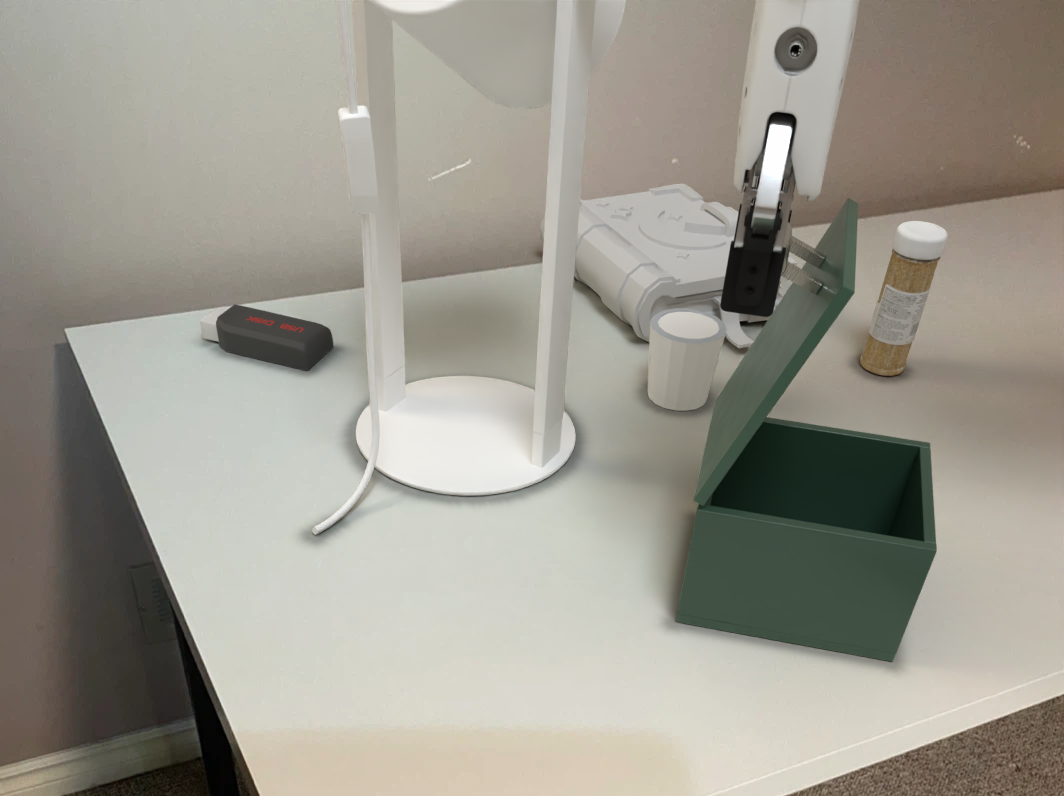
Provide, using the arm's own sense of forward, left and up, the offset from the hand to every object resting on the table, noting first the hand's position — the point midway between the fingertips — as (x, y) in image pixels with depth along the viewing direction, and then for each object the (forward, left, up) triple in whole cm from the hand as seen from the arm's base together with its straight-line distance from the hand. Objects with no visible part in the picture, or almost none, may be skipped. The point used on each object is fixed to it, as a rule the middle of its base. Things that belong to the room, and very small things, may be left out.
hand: (750, 288), depth 67 cm
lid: (-3, 0, -4) cm, 5 cm away
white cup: (+5, -26, -22) cm, 34 cm away
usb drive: (+45, -23, -22) cm, 55 cm away
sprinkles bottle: (-14, -38, -22) cm, 46 cm away
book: (+8, -47, -22) cm, 52 cm away
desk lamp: (+23, -10, -22) cm, 33 cm away
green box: (-7, 0, -22) cm, 23 cm away
